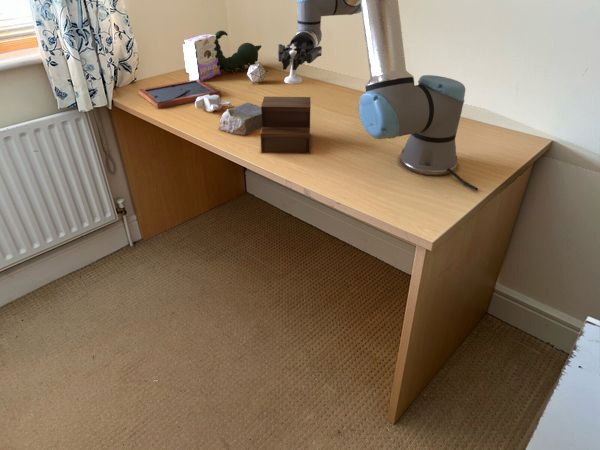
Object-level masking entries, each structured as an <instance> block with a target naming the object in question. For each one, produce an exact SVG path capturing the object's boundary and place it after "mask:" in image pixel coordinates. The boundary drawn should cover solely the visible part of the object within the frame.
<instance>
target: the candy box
mask: <svg viewBox="0 0 600 450" xmlns="http://www.w3.org/2000/svg"><path fill="white" fill-rule="evenodd" d="M193 37H194V38H192V37H191V38H187V39H184V40H183V42H184V44H185V49H186V56H187V63H188V70H189V73H188V76H189V80H195V79H199V80H201V81H203V82H205V81H206V80H209V79H212V78H214V77H217V76H219V75H221V70H220V65H219V66H217V62H218V58H215V55H217V52H216V51H215V50H214V48H215V47H216V45H215V44H214V42H215V40H216V35H215V34H209V33H204V34H202V35H201V34H200V35H198V36H193Z"/></svg>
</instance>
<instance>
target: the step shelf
mask: <svg viewBox="0 0 600 450" xmlns="http://www.w3.org/2000/svg"><path fill="white" fill-rule="evenodd" d="M260 107H261V113H262V128H261V129H260V135H259V136H260V151H261V154H308V155H309V154H310V152H311V151H310V147H311V96H263V99H262V103H261V106H260Z"/></svg>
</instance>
